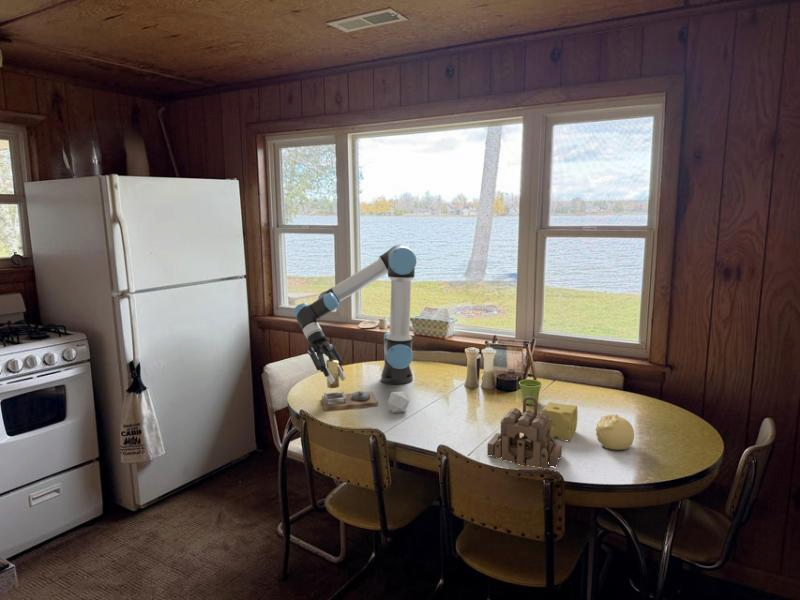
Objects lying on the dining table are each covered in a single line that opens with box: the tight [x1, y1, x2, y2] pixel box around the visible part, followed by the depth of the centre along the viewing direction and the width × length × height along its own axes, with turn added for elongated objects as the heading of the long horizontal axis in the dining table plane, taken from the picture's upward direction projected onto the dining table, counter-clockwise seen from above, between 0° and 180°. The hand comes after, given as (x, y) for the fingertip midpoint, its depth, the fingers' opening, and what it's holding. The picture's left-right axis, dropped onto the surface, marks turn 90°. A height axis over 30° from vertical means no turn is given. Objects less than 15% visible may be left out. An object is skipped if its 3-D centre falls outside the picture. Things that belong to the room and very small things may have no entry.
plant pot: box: [518, 379, 543, 406], centre depth 222 cm, size 9×9×9 cm
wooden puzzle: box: [486, 396, 563, 469], centre depth 174 cm, size 22×15×19 cm, turn 63°
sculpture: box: [595, 413, 635, 451], centre depth 180 cm, size 11×12×11 cm
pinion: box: [325, 359, 340, 389], centre depth 223 cm, size 5×5×11 cm
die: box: [386, 391, 410, 414], centre depth 215 cm, size 8×9×10 cm
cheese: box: [541, 401, 579, 442], centre depth 191 cm, size 10×11×10 cm
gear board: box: [321, 390, 379, 412], centre depth 226 cm, size 22×14×4 cm, turn 102°
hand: (338, 380), depth 221 cm, fingers closed on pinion, 5 cm apart
